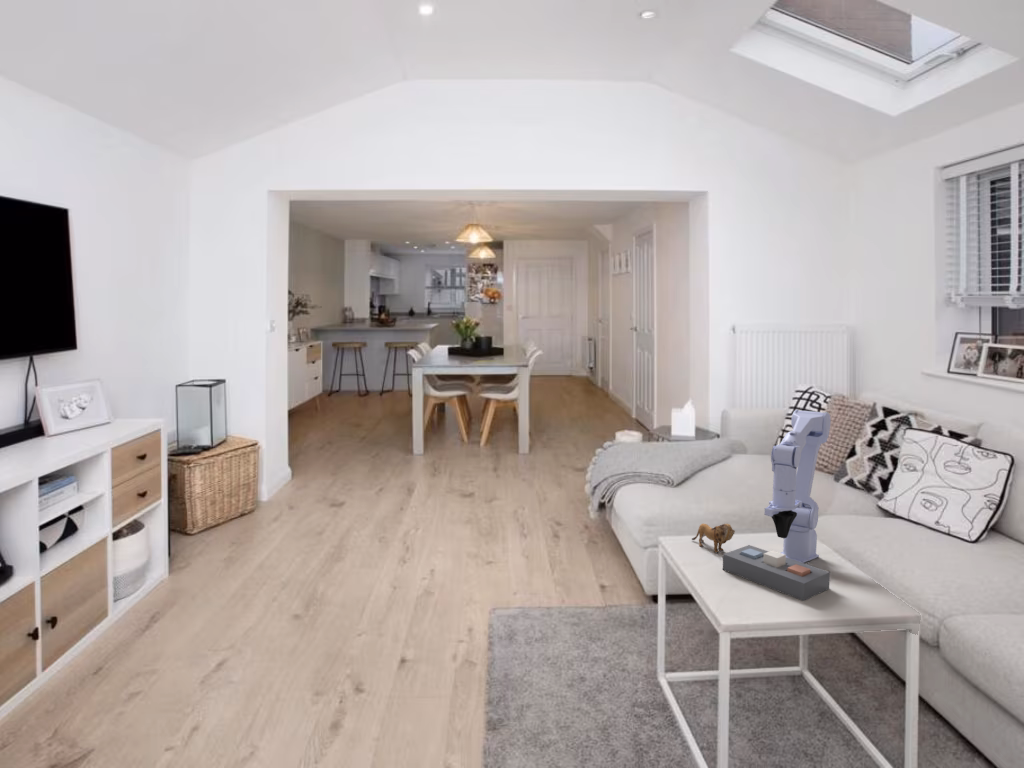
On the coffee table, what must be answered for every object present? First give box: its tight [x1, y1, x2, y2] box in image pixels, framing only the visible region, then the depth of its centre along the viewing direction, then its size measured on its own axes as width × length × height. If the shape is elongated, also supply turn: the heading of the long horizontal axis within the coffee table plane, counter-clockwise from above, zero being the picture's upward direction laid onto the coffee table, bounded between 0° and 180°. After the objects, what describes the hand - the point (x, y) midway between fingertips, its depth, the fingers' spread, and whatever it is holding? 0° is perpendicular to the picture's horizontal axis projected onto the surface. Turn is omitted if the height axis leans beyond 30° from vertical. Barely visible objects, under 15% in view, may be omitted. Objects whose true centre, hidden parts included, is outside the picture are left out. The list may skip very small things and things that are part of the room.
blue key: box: [741, 549, 762, 560], centre depth 176 cm, size 4×4×3 cm
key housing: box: [722, 544, 831, 602], centre depth 171 cm, size 12×24×4 cm, turn 35°
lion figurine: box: [691, 523, 736, 553], centre depth 193 cm, size 15×5×9 cm, turn 37°
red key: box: [787, 564, 810, 577], centre depth 165 cm, size 4×4×3 cm
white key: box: [763, 549, 786, 568], centre depth 170 cm, size 4×4×3 cm
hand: (782, 537), depth 173 cm, fingers closed
